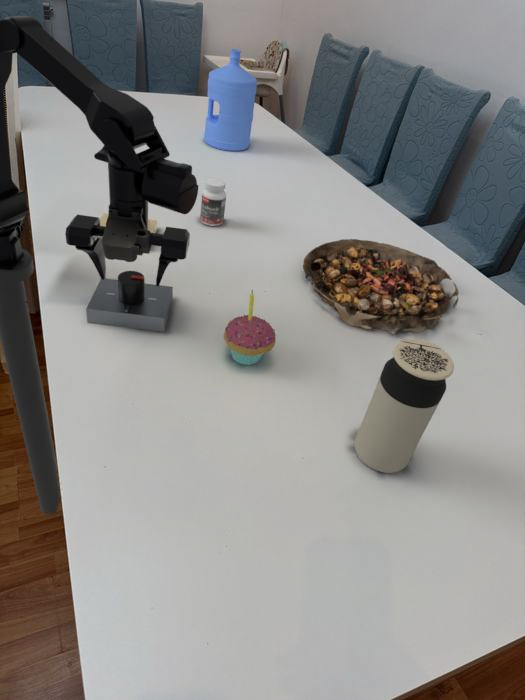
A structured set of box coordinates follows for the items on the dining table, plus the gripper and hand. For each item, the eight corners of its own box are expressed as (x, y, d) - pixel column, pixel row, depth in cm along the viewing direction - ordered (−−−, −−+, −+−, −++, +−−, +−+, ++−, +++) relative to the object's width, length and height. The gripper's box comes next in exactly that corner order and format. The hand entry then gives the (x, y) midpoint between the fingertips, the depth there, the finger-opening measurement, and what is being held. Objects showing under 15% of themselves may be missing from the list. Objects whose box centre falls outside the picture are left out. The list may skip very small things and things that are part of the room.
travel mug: (406, 481, 68) (457, 387, 57) (350, 464, 69) (389, 367, 58) (408, 440, 74) (455, 347, 63) (357, 424, 75) (393, 330, 64)
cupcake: (215, 343, 85) (222, 284, 78) (261, 338, 88) (271, 280, 81) (230, 376, 79) (239, 315, 72) (279, 369, 82) (292, 310, 75)
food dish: (406, 364, 90) (419, 330, 85) (268, 286, 105) (273, 254, 100) (479, 294, 112) (493, 264, 107) (356, 238, 127) (363, 210, 122)
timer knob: (116, 302, 85) (115, 281, 83) (121, 288, 89) (120, 267, 86) (141, 305, 86) (141, 284, 83) (146, 291, 89) (146, 270, 86)
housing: (92, 242, 106) (91, 224, 103) (104, 222, 113) (103, 205, 111) (149, 249, 107) (149, 232, 104) (157, 229, 115) (157, 212, 112)
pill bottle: (196, 223, 120) (199, 183, 114) (204, 214, 124) (207, 175, 118) (219, 228, 119) (223, 188, 113) (226, 219, 124) (230, 180, 118)
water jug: (251, 141, 176) (263, 51, 159) (246, 155, 164) (257, 58, 146) (208, 133, 176) (215, 42, 159) (199, 146, 164) (205, 49, 146)
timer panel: (87, 323, 85) (85, 308, 83) (102, 291, 92) (101, 277, 90) (164, 332, 86) (164, 317, 84) (172, 300, 93) (172, 285, 92)
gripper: (48, 207, 68) (60, 301, 78) (183, 226, 70) (179, 315, 80) (72, 178, 77) (80, 266, 87) (192, 195, 79) (187, 279, 88)
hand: (130, 281), depth 85 cm, fingers open, 9 cm apart
